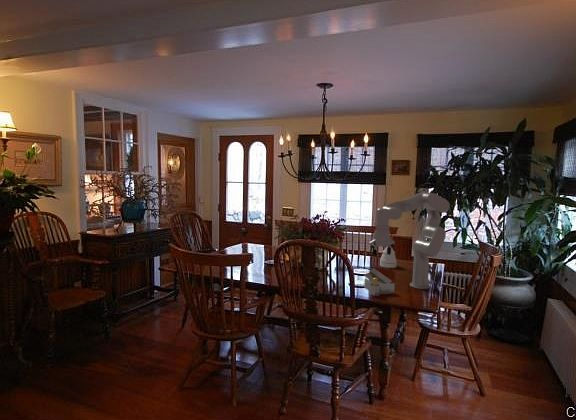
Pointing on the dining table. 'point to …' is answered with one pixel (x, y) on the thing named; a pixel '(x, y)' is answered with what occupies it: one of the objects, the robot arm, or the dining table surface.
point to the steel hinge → (378, 288)
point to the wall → (377, 274)
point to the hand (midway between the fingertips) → (381, 254)
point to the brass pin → (375, 282)
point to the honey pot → (388, 259)
